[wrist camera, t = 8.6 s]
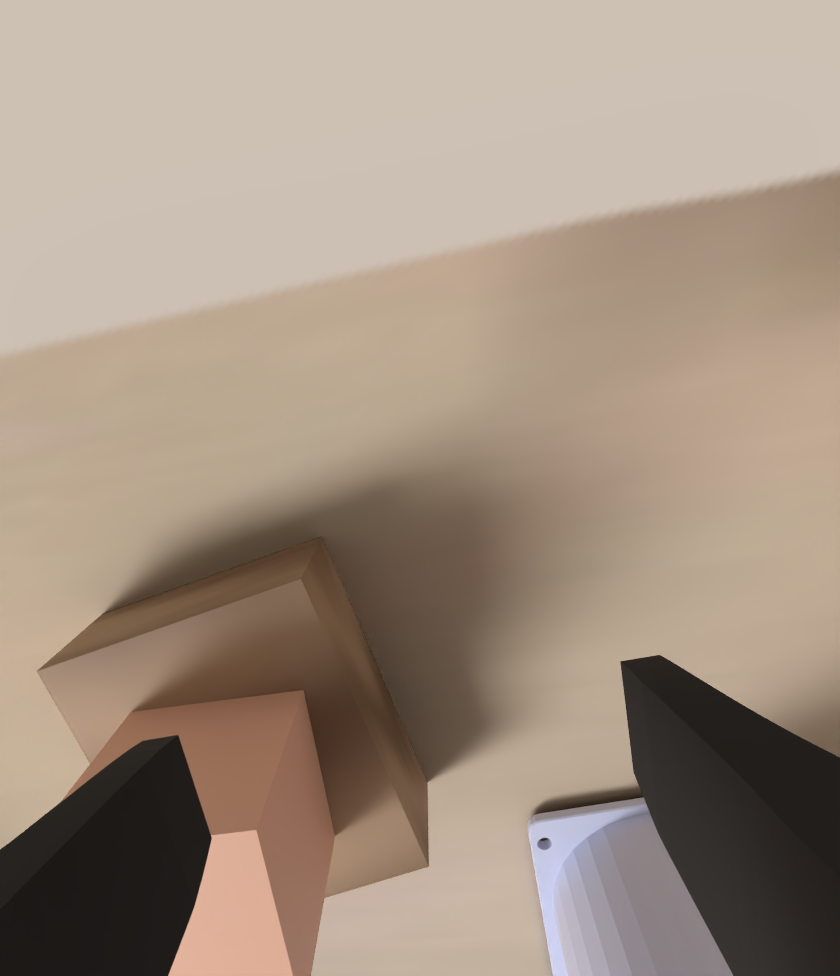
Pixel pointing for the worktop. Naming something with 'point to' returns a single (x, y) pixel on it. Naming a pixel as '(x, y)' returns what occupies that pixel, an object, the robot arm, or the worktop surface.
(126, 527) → the worktop surface
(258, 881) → the terracotta cube
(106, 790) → the robot arm
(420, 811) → the walnut block
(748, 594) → the worktop surface
